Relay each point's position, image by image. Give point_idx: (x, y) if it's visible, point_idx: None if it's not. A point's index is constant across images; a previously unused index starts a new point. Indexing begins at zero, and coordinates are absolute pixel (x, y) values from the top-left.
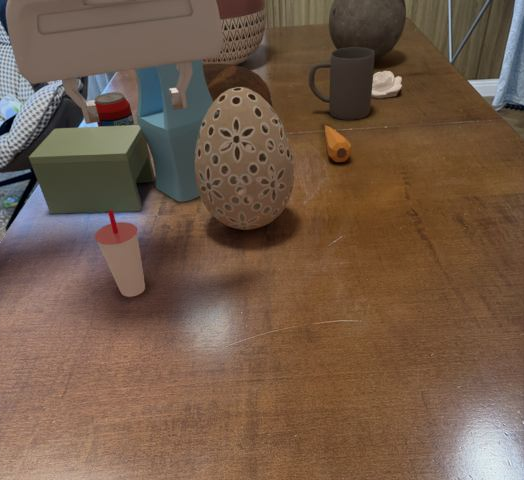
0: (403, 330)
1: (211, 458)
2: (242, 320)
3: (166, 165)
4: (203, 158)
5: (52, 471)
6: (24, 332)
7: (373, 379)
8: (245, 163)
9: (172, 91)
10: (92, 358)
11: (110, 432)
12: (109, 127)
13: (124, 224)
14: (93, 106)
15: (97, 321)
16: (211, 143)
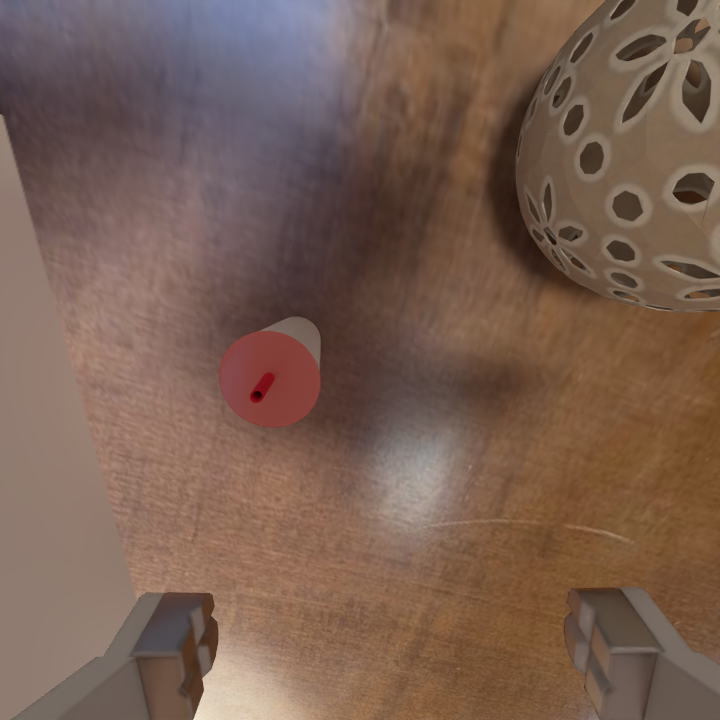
0: (675, 577)
1: (363, 666)
2: (465, 484)
3: None
4: (589, 200)
5: None
6: (110, 393)
7: None
8: (699, 307)
9: (613, 697)
10: (228, 487)
11: (256, 607)
12: None
13: (290, 349)
14: (182, 716)
15: None
16: (652, 220)
